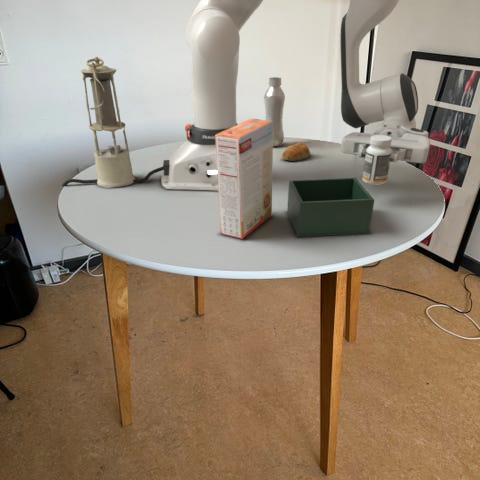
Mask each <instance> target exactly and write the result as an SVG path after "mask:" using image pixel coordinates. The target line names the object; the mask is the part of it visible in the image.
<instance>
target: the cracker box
mask: <svg viewBox="0 0 480 480" xmlns="http://www.w3.org/2000/svg"><path fill="white" fill-rule="evenodd" d="M237 124H238V125H236V126H234V127H231V128H229V129H227V130H225V131H222V132H220V133H218V134H216V135H215V144H216V161H217V178H218V190H217V193H218V212H219V213H218V214H219V227H220V235H223V236H227V237H232V238H237V239H241V240H243V239H244V238H246V237H247V236H248V235H250V234H251V233H252V232H253V231H254V230H256V229H257V228H259V226H261V225H262V224H263V223H264V222H265V221H267V220H268V219H269V218H271V217H272V214H273V163H274V161H273V159H274V158H273V155H274V146H273V121H267V120H266V119H265V120H264V119H259V118H249V119H246V120H245V121H242V122H240V123H237Z"/></svg>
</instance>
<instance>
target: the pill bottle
mask: <svg viewBox="0 0 480 480" xmlns="http://www.w3.org/2000/svg"><path fill="white" fill-rule="evenodd" d="M391 142H392V138H391V137H389V136H385V135H374V136H371V138H370V144H371V145H370V146H369V147H368V148H367V150H366V157H365V158H364V165H363V171H362V181H363V182H364V183H366V184H369V185H375V186H378V185H383V184H386V182H387V181H388V176H389V171H390V166H391V165H390V164H391V162H390V161H389V160H390V155H391V153H392V150H391V148H390V147H389V146H390V145H391Z"/></svg>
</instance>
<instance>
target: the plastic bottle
mask: <svg viewBox="0 0 480 480" xmlns="http://www.w3.org/2000/svg"><path fill="white" fill-rule="evenodd" d="M268 86H269V87H268V88H267V89H266V91H265V93H264V96H263V101H264V111H265V120H267V121H273V147H278V146H282V144H283V143H284V139H285V134H284V123H283V118H284V117H283V115H284V107H285V101H286V96H285V92H284V91H283V89H282V87H281V86H282V77H277V76H275V77H269V78H268Z"/></svg>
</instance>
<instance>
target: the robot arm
mask: <svg viewBox="0 0 480 480" xmlns="http://www.w3.org/2000/svg"><path fill="white" fill-rule="evenodd" d="M263 1H264V0H200V1H199V3H198V4H197V6H196V7H195V9H194V11H192V14H191V16H190V18H189V19H188V21H187V24H186V28H185V39H186V43H187V46H188V48H189V50H190V54H191V55H190V56H191V101H192V116H193V118H192V119H193V124H191V123H190V122H189V123H186V124H185V126H184V131H185V132H186V141H185V142H184V143H182V145H180V146H179V147H178V148H177V149H176V150H175V151H174V152H173V153H172V154H171V156H170V157H169V159H163V161H162V163H163V164H162V166H159V167H158V168H154V169H153V170H151V171H149V172H148V173H147V174H146V176H144V177H143V178H139V179H135V180H133V183H132V184H141V183H145V182H146V181H148V180H149V179H150V178H151V177H152V176H153V175H154V174H156V173H159V172H162V171H163V172H162V175H161V181H160V183H161V186H162V187H163V188H164V189H166V190H181V191H182V190H187V191H218V178H217V161H216V144H215V135H216V134H218V133H220V132H222V131H225V130H227V129H229V128H231V127H234V126H236V125H238V124H239V123H238V122H237V86H238V85H237V83H238V73H239V61H240V43H241V37H240V31H241V30H242V29H243V27H244V26H245V24H246V23H247V21H248V20H249V19H250V18H251V17H252V15H254V13H255V11H257V9H258V8H259V7H260V6H261V5H262V3H263ZM399 1H400V0H349V4H348V8H347V12H346V13H345V14H344V16H342V19H341V22H340V23H341V24H340V25H341V26H340V34H339V35H340V40H339V41H340V75H341V77H340V79H341V97H340V114H341V119H342V122H344V123H345V124H346V125H348V126H349V127H351V128H354V129H359V128H362V127H365V126H368V125H370V124H374V123H377V122H382V123H381V124H380V125H379V126H378V127H377V128H376V130H374V132H373V133H368V132H350V133H348V134H346V135H345V136H343V137H342V139H341V145H340V152H341V153H343V154H345V155H354V156H358V158H359V159H365V157H366V150H367V148H368V147H369V146H370V145H371V144H370V138H371V136H374V135H385V136H389V137H391V138H392V142H391V145H390V146H389V147H390V148H391V150H392V153H391V155H390V160H389V161H390V163H397V162H398V161H400V162H408V163H415V164H426V163H427V160H428V157H429V152H430V146H431V140H430V138H429V132H428V131H427V130H424V129H419V128H417V122H416V118H415V117H416V115H417V113H418V111H419V95H418V90H417V86H416V84H415V82H414V80H413V79H411V78H410V77H409V76H408V75H407V74H405V73H399V74H398V73H397V74H394V75H390V76H387V77H383V78H381V79H379V80H374V81H371V82H367V83H361V82H360V47H361V44H362V42H363V40H364V39H365V37H366V36H367V35H368V34H369V33H370V32H371V31H372V30H373V29H375V28H376V27H377V26H378V25H379V24H381V23H382V22H383V21H384V20H385V19H386V18H388V16H390V15H391V13H392V12H393V11H394V10H395V8H396V6H397V5H398V3H399ZM97 181H98V178H97V179H79V178H68V179H67V180H65V181H63V182H62V184H61V187H66V186H67V185H68V184H70V183H78V184H97Z"/></svg>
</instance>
